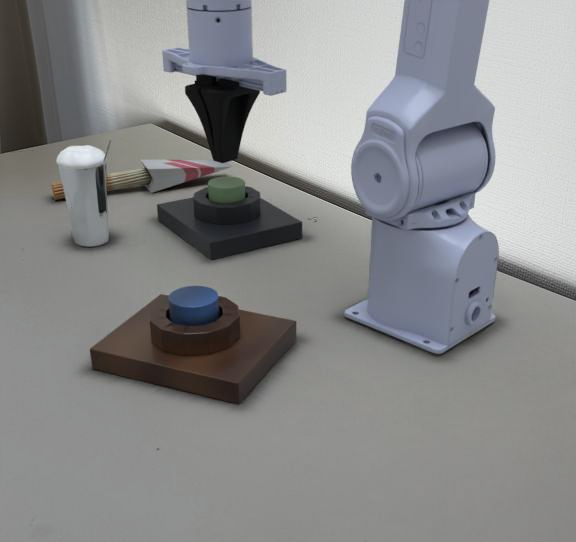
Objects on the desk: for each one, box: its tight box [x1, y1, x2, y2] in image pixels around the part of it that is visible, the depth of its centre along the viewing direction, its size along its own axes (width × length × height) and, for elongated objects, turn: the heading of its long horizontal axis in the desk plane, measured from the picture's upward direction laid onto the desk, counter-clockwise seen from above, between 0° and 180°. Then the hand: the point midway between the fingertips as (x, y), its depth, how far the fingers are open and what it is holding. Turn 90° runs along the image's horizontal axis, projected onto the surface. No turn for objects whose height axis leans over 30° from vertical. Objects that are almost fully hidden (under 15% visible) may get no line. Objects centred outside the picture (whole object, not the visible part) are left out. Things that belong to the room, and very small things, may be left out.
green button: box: [207, 175, 246, 203], centre depth 85 cm, size 4×4×2 cm
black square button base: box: [156, 185, 303, 260], centre depth 86 cm, size 12×10×4 cm
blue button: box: [168, 285, 219, 326], centre depth 63 cm, size 4×4×2 cm
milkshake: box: [55, 138, 113, 248], centre depth 82 cm, size 4×5×10 cm
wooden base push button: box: [89, 293, 297, 405], centre depth 64 cm, size 12×10×4 cm
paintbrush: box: [50, 159, 233, 201], centre depth 97 cm, size 4×3×20 cm
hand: (225, 159), depth 83 cm, fingers closed
